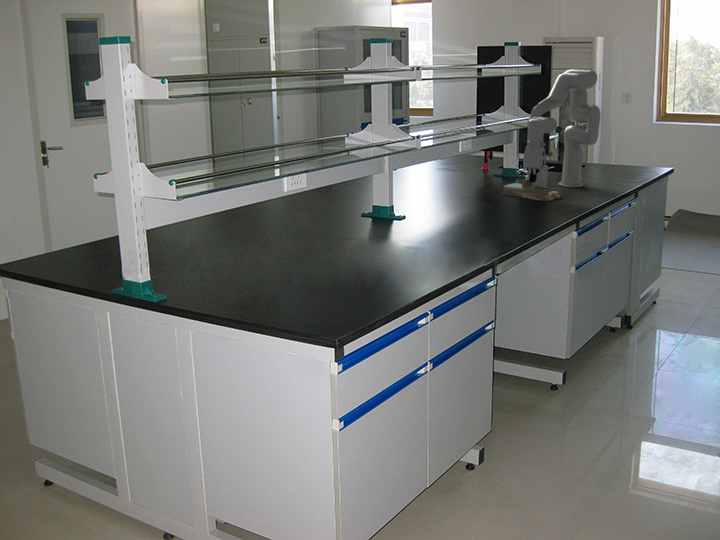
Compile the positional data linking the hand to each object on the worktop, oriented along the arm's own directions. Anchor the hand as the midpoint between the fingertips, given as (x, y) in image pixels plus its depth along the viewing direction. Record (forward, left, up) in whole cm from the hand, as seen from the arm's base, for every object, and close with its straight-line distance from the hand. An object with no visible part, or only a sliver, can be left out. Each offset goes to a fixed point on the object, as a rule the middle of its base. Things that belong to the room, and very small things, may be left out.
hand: (532, 181), depth 372 cm
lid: (+1, -7, -4) cm, 8 cm away
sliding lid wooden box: (+1, 0, -7) cm, 7 cm away
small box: (-13, -5, -7) cm, 16 cm away
